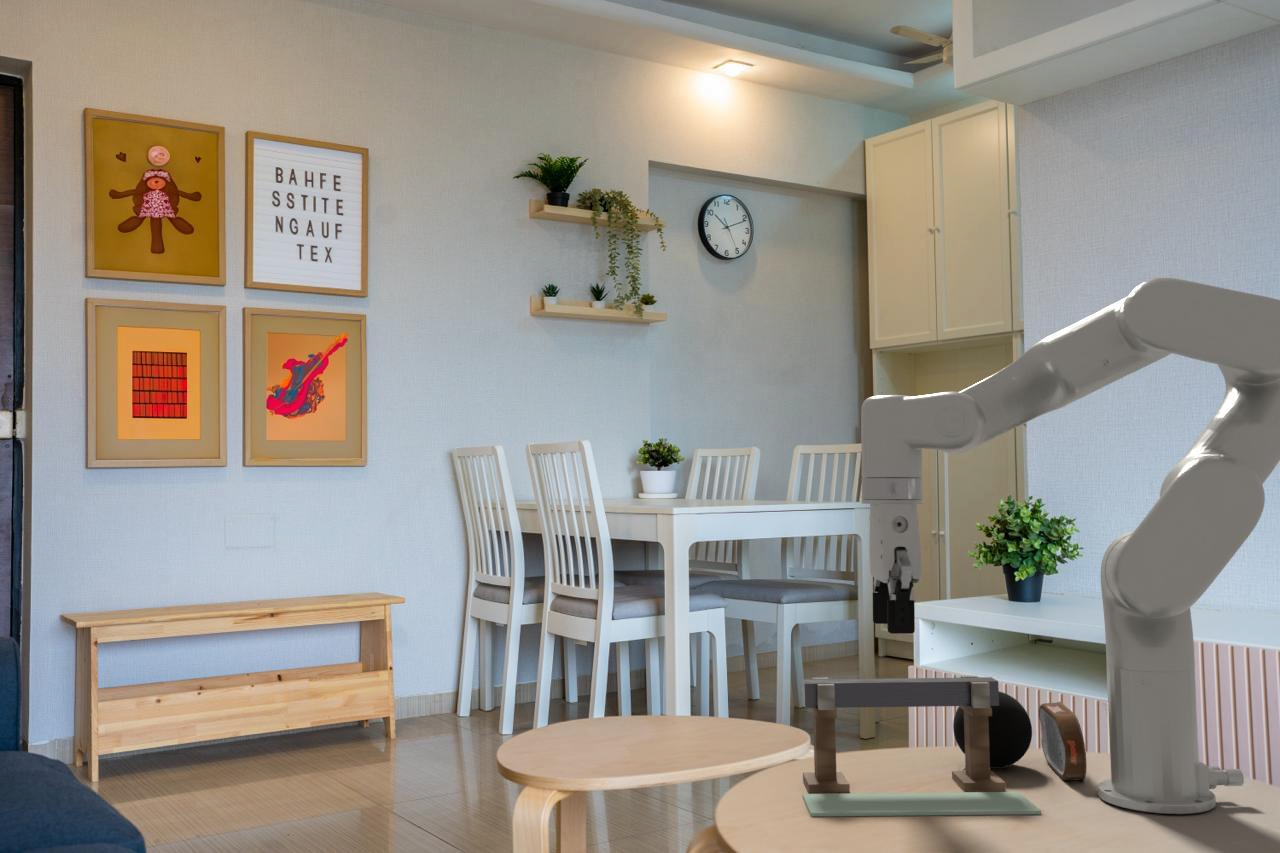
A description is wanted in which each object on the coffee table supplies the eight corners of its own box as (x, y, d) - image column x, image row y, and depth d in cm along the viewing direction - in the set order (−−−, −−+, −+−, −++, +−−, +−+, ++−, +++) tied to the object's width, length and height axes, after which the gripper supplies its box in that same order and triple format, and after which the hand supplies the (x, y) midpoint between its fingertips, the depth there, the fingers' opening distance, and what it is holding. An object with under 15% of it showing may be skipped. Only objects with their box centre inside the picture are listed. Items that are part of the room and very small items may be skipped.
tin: (1089, 787, 137) (1087, 718, 138) (1063, 787, 138) (1060, 718, 138) (1061, 758, 152) (1059, 696, 153) (1037, 758, 153) (1035, 696, 153)
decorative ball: (1021, 758, 153) (1019, 684, 154) (1043, 776, 143) (1040, 697, 144) (947, 758, 154) (945, 684, 154) (963, 776, 144) (961, 697, 144)
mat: (1019, 795, 134) (1018, 791, 134) (1041, 814, 126) (1041, 810, 126) (802, 797, 135) (802, 794, 135) (811, 816, 127) (810, 812, 127)
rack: (991, 778, 142) (987, 675, 143) (1005, 790, 136) (1001, 683, 137) (802, 780, 143) (800, 677, 144) (808, 792, 137) (806, 685, 138)
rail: (992, 701, 141) (991, 677, 142) (999, 705, 138) (998, 681, 139) (802, 703, 142) (801, 679, 142) (805, 707, 139) (804, 683, 139)
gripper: (937, 493, 133) (939, 637, 132) (906, 492, 150) (908, 620, 150) (874, 492, 133) (875, 637, 132) (851, 492, 151) (851, 620, 150)
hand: (893, 628), depth 141 cm, fingers open, 9 cm apart
